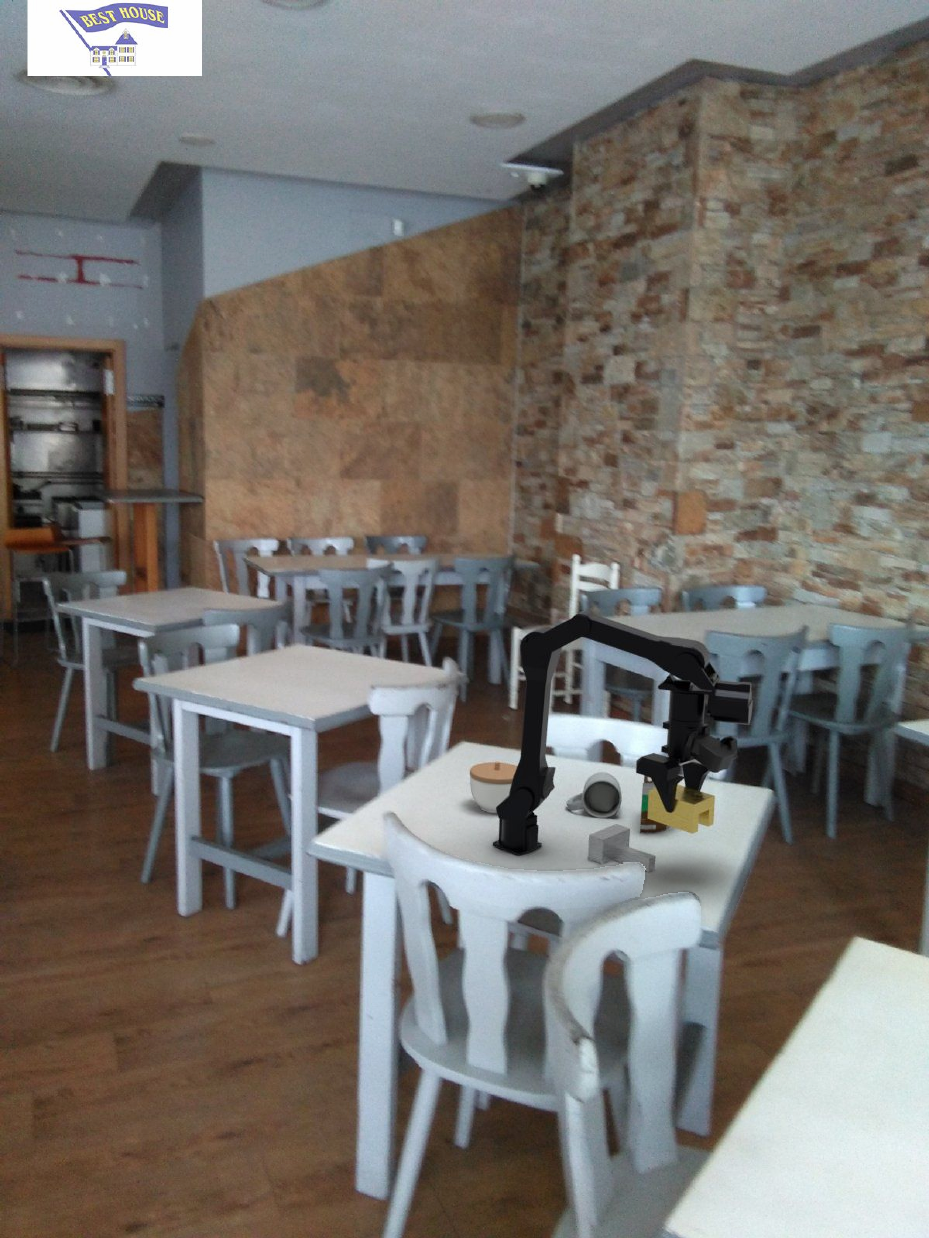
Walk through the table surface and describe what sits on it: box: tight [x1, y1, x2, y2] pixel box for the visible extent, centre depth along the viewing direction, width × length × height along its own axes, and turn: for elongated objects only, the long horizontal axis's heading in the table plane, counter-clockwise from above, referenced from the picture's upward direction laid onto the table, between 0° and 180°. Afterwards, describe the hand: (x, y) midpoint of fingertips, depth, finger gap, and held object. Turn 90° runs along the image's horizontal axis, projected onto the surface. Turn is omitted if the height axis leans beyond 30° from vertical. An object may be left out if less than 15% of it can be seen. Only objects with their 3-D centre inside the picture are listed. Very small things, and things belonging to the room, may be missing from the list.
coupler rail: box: [587, 823, 656, 873], centre depth 182 cm, size 10×8×4 cm
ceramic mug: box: [565, 771, 623, 819], centre depth 206 cm, size 11×8×8 cm
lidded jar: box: [469, 761, 518, 814], centre depth 206 cm, size 11×11×9 cm
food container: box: [639, 775, 668, 834], centre depth 199 cm, size 12×6×10 cm, turn 168°
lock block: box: [648, 784, 716, 835], centre depth 175 cm, size 9×6×5 cm, turn 43°
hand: (680, 807), depth 175 cm, fingers closed on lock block, 6 cm apart
